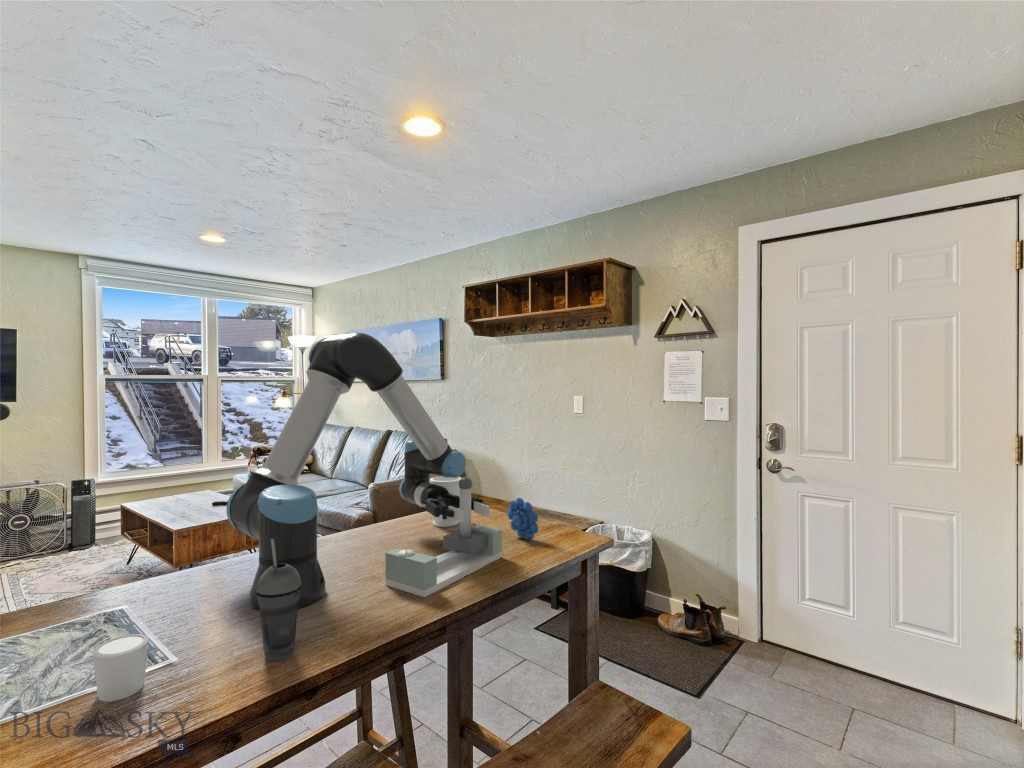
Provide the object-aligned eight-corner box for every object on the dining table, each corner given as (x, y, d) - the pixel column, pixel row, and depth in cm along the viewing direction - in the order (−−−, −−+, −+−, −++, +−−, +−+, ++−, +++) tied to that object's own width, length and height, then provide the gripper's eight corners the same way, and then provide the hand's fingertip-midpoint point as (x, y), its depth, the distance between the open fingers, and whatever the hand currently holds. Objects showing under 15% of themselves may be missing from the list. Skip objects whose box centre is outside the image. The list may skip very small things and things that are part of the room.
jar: (450, 517, 175) (450, 474, 175) (468, 524, 167) (468, 478, 167) (423, 523, 168) (423, 477, 168) (440, 530, 160) (440, 482, 160)
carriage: (470, 554, 128) (471, 481, 127) (443, 547, 132) (443, 477, 132) (487, 546, 133) (487, 476, 133) (460, 540, 138) (460, 473, 138)
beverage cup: (290, 667, 84) (290, 546, 84) (246, 666, 84) (246, 545, 84) (309, 644, 92) (309, 533, 91) (268, 643, 92) (268, 532, 92)
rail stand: (424, 597, 111) (424, 560, 111) (385, 585, 118) (385, 550, 118) (501, 557, 136) (501, 527, 136) (466, 549, 143) (466, 520, 143)
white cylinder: (90, 710, 73) (90, 661, 73) (94, 686, 79) (94, 641, 79) (149, 693, 77) (149, 647, 77) (148, 672, 83) (148, 629, 83)
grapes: (498, 537, 153) (498, 497, 153) (513, 532, 158) (513, 494, 158) (528, 546, 146) (528, 504, 146) (543, 540, 151) (543, 499, 151)
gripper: (462, 505, 153) (507, 522, 135) (399, 515, 141) (440, 536, 123) (462, 480, 153) (507, 494, 135) (399, 488, 141) (440, 505, 123)
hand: (475, 514), depth 129 cm, fingers open, 7 cm apart
